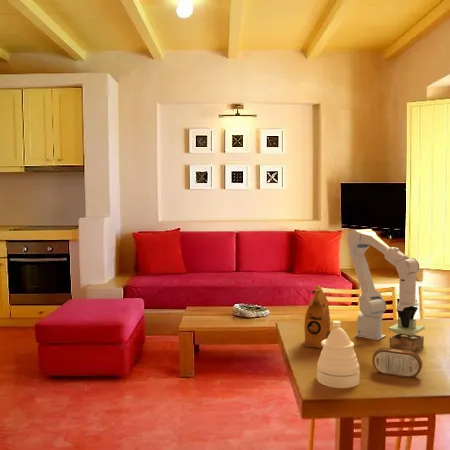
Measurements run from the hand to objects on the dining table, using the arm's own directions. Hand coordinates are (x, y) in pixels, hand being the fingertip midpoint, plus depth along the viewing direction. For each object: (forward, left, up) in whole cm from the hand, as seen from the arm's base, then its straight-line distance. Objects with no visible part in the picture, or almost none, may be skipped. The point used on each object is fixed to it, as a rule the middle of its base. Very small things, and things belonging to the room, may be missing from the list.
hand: (406, 326), depth 189 cm
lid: (0, 0, -1) cm, 1 cm away
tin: (+9, -31, -8) cm, 33 cm away
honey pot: (-3, -47, -8) cm, 48 cm away
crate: (0, 0, -8) cm, 8 cm away
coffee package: (-28, -18, -8) cm, 34 cm away
